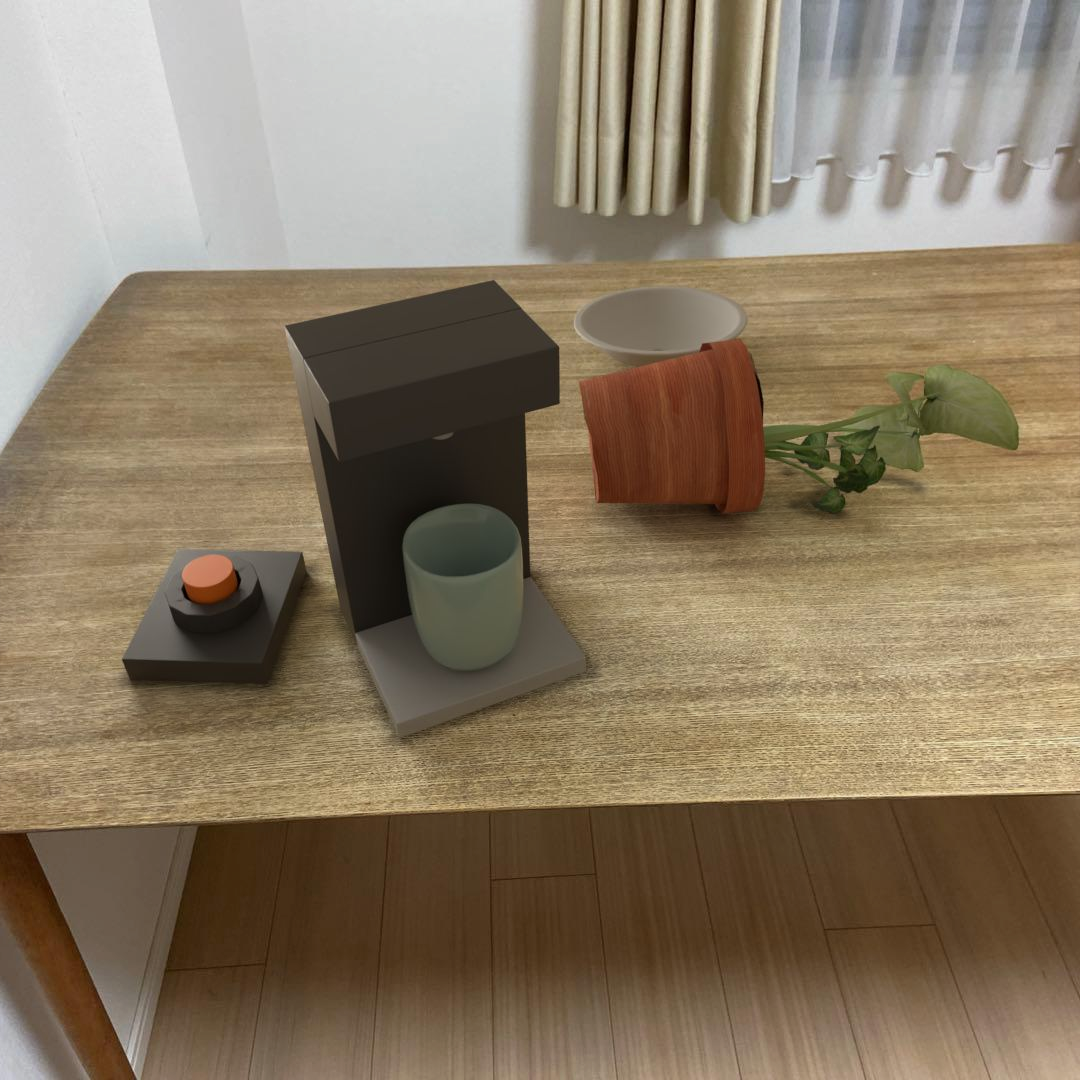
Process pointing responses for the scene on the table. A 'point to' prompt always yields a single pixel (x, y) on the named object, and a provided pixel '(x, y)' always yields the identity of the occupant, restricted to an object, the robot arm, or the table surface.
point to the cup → (465, 584)
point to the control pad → (218, 622)
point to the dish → (658, 322)
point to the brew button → (209, 579)
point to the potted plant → (762, 430)
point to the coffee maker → (426, 475)
